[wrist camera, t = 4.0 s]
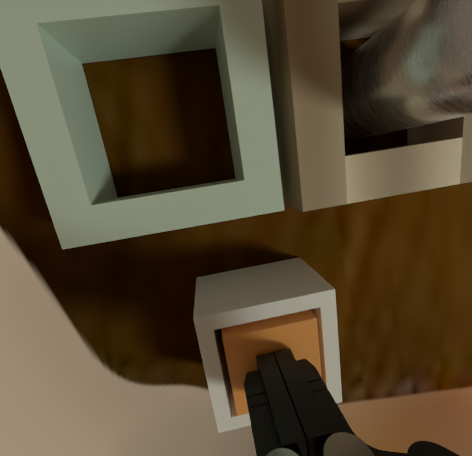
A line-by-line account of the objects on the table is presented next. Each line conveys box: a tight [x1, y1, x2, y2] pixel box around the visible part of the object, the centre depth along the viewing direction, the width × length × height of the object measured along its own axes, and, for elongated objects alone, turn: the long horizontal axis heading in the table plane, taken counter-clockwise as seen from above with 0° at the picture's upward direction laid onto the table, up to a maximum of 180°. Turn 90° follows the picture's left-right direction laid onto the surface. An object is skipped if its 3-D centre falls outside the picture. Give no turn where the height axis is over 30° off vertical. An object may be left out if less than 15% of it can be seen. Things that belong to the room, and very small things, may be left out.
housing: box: [193, 257, 342, 433], centre depth 13 cm, size 6×6×4 cm
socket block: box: [262, 0, 472, 212], centre depth 11 cm, size 9×9×3 cm
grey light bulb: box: [341, 0, 472, 139], centre depth 8 cm, size 4×4×10 cm
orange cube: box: [221, 309, 322, 416], centre depth 12 cm, size 4×4×4 cm
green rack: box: [0, 0, 284, 250], centre depth 10 cm, size 9×9×3 cm
